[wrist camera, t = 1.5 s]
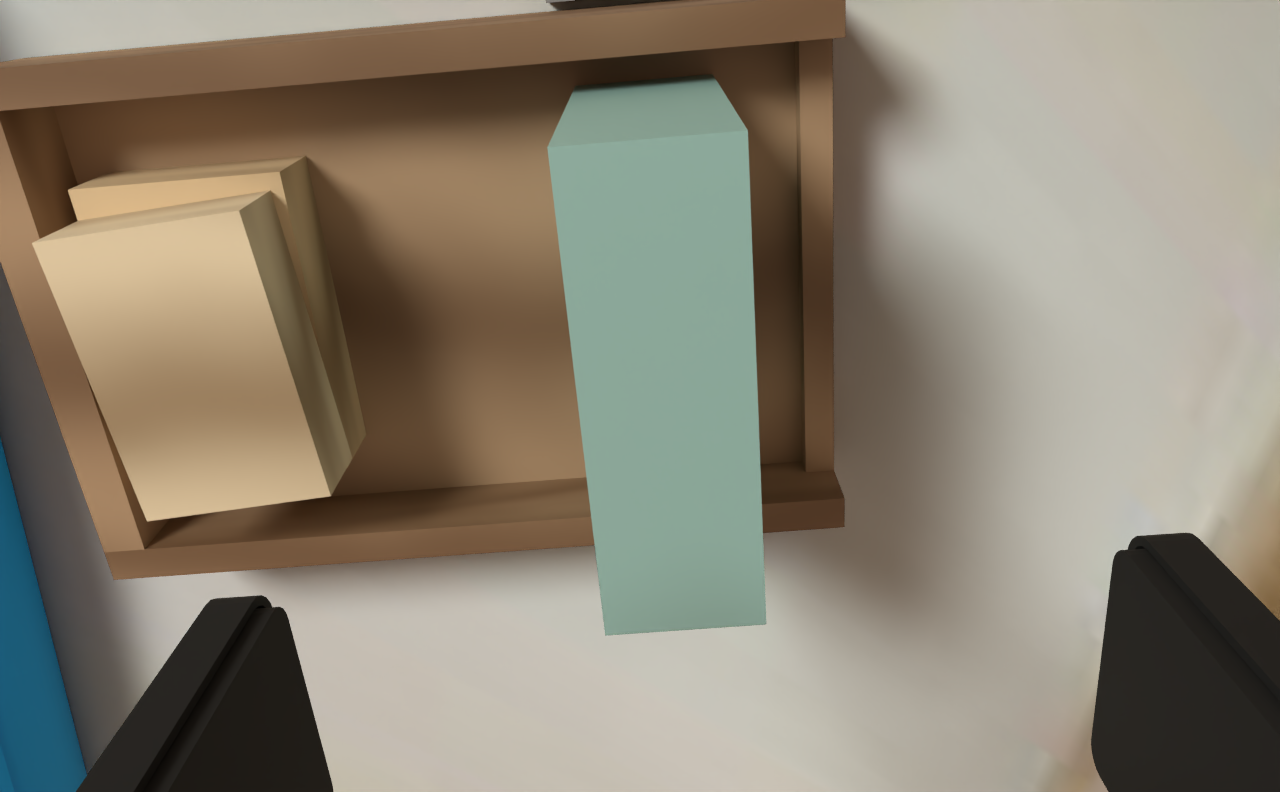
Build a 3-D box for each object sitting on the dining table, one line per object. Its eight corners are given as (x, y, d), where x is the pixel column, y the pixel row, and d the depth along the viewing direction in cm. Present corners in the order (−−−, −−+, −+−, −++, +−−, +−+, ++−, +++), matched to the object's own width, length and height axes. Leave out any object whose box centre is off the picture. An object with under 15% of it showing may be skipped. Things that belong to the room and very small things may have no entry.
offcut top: (79, 220, 21) (31, 243, 19) (270, 189, 21) (239, 210, 19) (180, 482, 24) (147, 521, 22) (352, 457, 23) (331, 495, 22)
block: (575, 85, 22) (547, 147, 15) (712, 74, 22) (747, 130, 15) (613, 450, 25) (605, 635, 18) (730, 441, 25) (766, 624, 18)
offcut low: (109, 172, 22) (68, 189, 21) (305, 155, 22) (279, 172, 21) (192, 447, 25) (161, 482, 24) (366, 434, 25) (347, 467, 23)
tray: (24, 58, 23) (-68, 74, 20) (817, -12, 22) (845, -7, 19) (169, 512, 27) (114, 579, 25) (821, 464, 27) (844, 527, 24)
